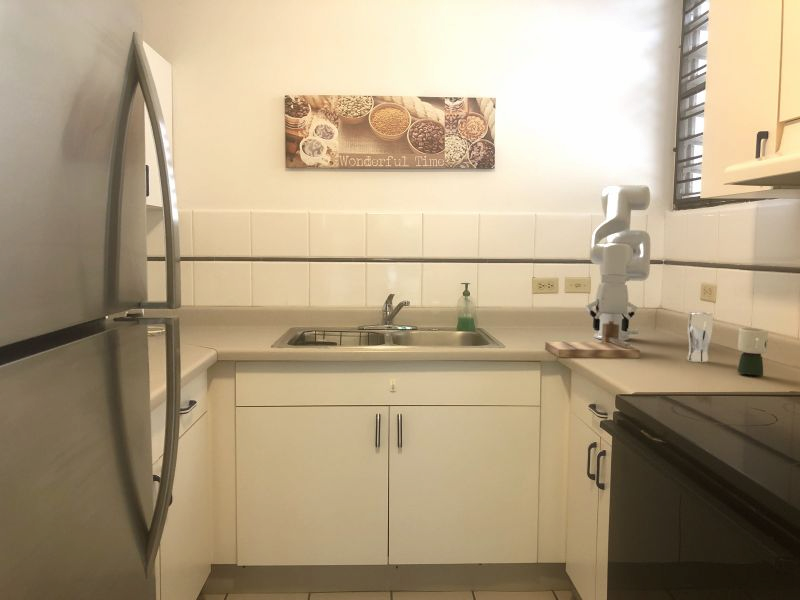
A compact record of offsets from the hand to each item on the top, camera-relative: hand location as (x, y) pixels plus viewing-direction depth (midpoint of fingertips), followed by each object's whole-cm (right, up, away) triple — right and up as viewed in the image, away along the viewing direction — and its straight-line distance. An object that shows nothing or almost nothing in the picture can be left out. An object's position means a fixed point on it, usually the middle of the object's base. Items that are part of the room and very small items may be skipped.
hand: (610, 330), depth 212 cm
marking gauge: (+1, -7, -5) cm, 8 cm away
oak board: (-9, -7, -8) cm, 14 cm away
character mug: (+27, -11, -36) cm, 46 cm away
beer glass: (+22, -9, -17) cm, 29 cm away
